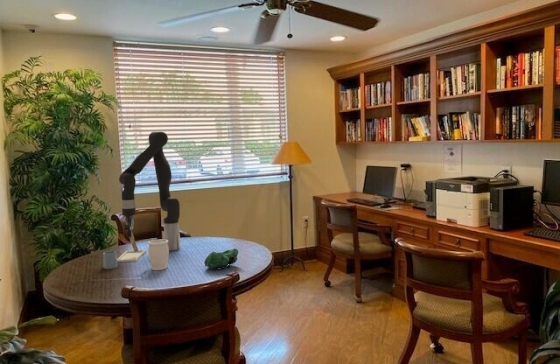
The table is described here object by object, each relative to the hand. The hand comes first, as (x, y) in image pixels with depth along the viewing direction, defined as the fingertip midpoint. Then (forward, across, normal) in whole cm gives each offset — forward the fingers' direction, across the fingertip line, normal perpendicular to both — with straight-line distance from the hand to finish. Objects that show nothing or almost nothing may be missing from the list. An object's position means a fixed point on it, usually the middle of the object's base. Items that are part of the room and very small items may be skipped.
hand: (130, 236), depth 254 cm
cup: (+13, -20, +6) cm, 25 cm away
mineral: (+13, -28, -55) cm, 63 cm away
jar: (+14, -24, -21) cm, 35 cm away
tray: (+13, 0, 0) cm, 13 cm away
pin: (+10, 0, -1) cm, 10 cm away
